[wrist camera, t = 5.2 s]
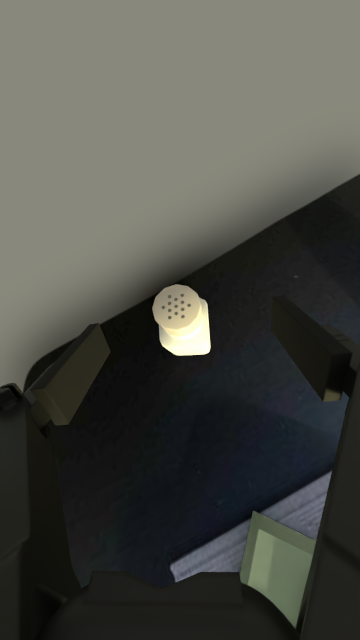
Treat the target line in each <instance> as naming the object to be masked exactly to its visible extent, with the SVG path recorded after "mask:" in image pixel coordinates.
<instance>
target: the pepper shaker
mask: <svg viewBox="0 0 360 640" xmlns="http://www.w3.org/2000/svg"><path fill="white" fill-rule="evenodd" d="M152 310H153V314H154V317H155V321H156V322H157V323H158V324H159V334H160V342H161V344H162V346H163V347H165V348H166V349H167V350H169V351H170V352H172V353H173V354H175V355H178V356H181V355H202V354H207V353H209V351H210V334H209V321H208V307H207V303H206V301H205V300H203V299H201V298H199V297H198V294H197V293H196V292H195V291H193V290H192V289H191V288H189V287H188V286H183V285H176V284H175V285H173V286H170V287H167V288H164V289H163V290H162V291H161V292H160V293H159V294H158V295H157V296H156V297H155V301H154V304H153V308H152Z"/></svg>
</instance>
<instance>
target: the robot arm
mask: <svg viewBox="0 0 360 640" xmlns="http://www.w3.org/2000/svg"><path fill="white" fill-rule="evenodd" d="M271 330H272V332H273V333H274V335H275V336H276V337H277V339H278V340H279V341H280V343H281V344H282V346H283V347H284V348H285V350H286V351H287V352H288V354H289V355H290V357H291V358H292V359H293V361H294V362H295V364H296V365H297V366H298V368H299V369H300V370H301V372H302V373H303V375H304V376H305V377H306V379H307V380H308V382H309V383H310V384H311V386H312V387H313V388H314V390H315V391H316V393H317V394H318V395H319V397H320V398H321V400H322V401H323V402H324V401H336V400H341V396H342V393H343V391H344V392H345V393H346V394H347V396H348V397H349V401H348V404H347V408H346V412H345V418H344V422H343V427H342V431H341V435H340V440H339V444H338V448H337V453H336V457H335V461H334V466H333V470H332V474H331V479H330V483H329V488H328V492H327V496H326V501H325V505H324V509H323V514H322V518H321V522H320V527H319V531H318V535H317V540H316V544H315V548H314V553H313V557H312V561H311V566H310V570H309V574H308V578H307V582H306V585H305V589H304V593H303V598H302V602H301V606H300V610H299V615H298V619H297V623H296V628H294V626H293V625H292V624H291V623H290V621H289V620H288V619H287V618H286V616H285V615H284V614H283V613H282V612H281V611H280V610H279V609H278V608H277V607H276V606H275V605H274V603H273V602H271V601H270V600H269V599H268V598H267V597H265V596H264V595H263V594H262V593H260V592H259V591H257V590H256V589H254V588H252V587H251V586H248V585H246V584H244V583H242V582H241V579H240V573H239V572H200V573H197V574H195V575H193V576H190V577H188V578H186V579H183V580H181V581H179V582H176V583H174V584H172V585H169V586H167V587H164V588H159V587H156V586H154V585H152V584H150V583H148V582H146V581H144V580H142V579H140V578H138V577H136V576H134V575H132V574H130V573H128V572H126V571H92V575H91V578H90V582H89V584H88V585H87V586H85V587H83V588H82V589H81V586H80V584H79V581H78V579H77V577H76V575H75V573H74V570H73V568H72V563H71V558H70V551H69V545H68V539H67V533H66V527H65V521H64V515H63V509H62V503H61V496H60V490H59V484H58V478H57V472H56V466H55V460H54V454H53V447H52V441H51V435H50V429H49V427H48V426H47V423H48V421H49V420H50V418H51V420H52V421H53V422H54V424H55V425H65V424H69V422H70V420H71V419H72V417H73V415H74V414H75V412H76V410H77V408H78V407H79V405H80V403H81V401H82V400H83V398H84V396H85V395H86V393H87V391H88V389H89V388H90V386H91V384H92V383H93V381H94V379H95V377H96V376H97V374H98V372H99V370H100V369H101V367H102V365H103V364H104V362H105V360H106V358H107V357H108V355H109V353H110V349H109V347H108V345H107V342H106V340H105V337H104V335H103V333H102V330H101V328H100V326H99V323H97V324H91V325H89V326H88V327H87V328H86V329H85V330H84V331H83V332H82V333H81V334H80V336H79V337H78V338H77V339H76V340H75V341H74V342H73V343H72V344H71V345H70V346H69V348H68V349H67V350H66V351H65V352H64V353H63V354H62V355H61V356H60V357H59V358H58V359H57V361H56V362H55V363H53V364H52V365H50V366H49V367H48V368H47V369H46V370H45V371H44V372H43V374H41V376H40V377H39V379H37V380H36V381H35V382H34V383H33V384H32V385H31V386H30V387H29V388H28V389H27V391H26V392H25V393H24V394H23V393H22V391H21V390H20V389H19V387H18V386H17V385H16V384H15V383H10V384H6V385H3V386H1V387H0V640H360V346H359V345H358V344H357V343H355V342H354V341H353V340H351V339H350V338H349V337H347V336H345V334H343V333H342V332H341V331H340V330H338V329H336V328H334V327H331V326H329V325H323V326H320V325H319V324H318V323H316V322H315V321H314V320H313V319H312V318H310V317H309V316H308V315H307V314H306V313H304V312H303V311H302V310H301V309H300V308H298V307H297V306H296V305H295V304H294V303H292V302H291V301H290V300H289V299H288V298H286V297H285V296H284V295H281V296H275V297H272V325H271ZM241 585H242V586H241Z"/></svg>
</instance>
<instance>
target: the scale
mask: <svg viewBox="0 0 360 640" xmlns="http://www.w3.org/2000/svg"><path fill="white" fill-rule="evenodd" d="M315 544H316V541H315V540H313V539H311V538H309V537H307V536H305V535H303V534H301V533H299V532H297V531H295V530H293V529H291V528H288V527H286V526H284V525H282V524H280V523H278V522H276V521H274V520H272V519H270V518H268V517H266V516H264V515H262V514H259V513H257V512H255V511H253V513H252V518H251V522H250V527H249V532H248V537H247V542H246V547H245V551H244V556H243V561H242V566H241V571H240V579H241V582H242V583H244V584H246V585H248V586H251V587H252V588H254V589H256V590H257V591H259V592H260V593H262V594H263V595H264V596H265V597H267V598H268V599H269V600H270V601H271V602H273V603H274V605H275V606H276V607H277V608H278V609H279V610H280V611H281V612H282V613H283V614H284V615H285V616H286V618H287V619H288V620H289V621H290V623H291V624H292V625H293V626H294V628H296V623H297V619H298V615H299V610H300V606H301V602H302V598H303V593H304V589H305V585H306V582H307V578H308V574H309V570H310V566H311V561H312V557H313V553H314V548H315ZM241 586H242V585H241Z"/></svg>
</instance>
